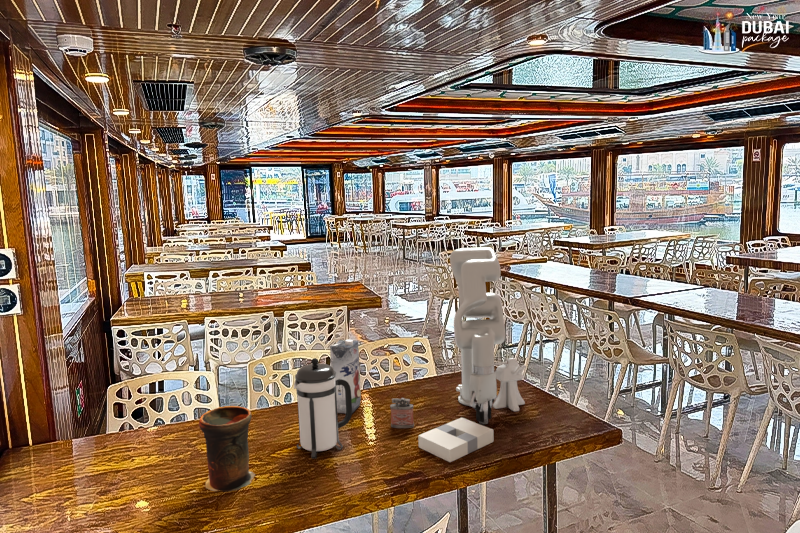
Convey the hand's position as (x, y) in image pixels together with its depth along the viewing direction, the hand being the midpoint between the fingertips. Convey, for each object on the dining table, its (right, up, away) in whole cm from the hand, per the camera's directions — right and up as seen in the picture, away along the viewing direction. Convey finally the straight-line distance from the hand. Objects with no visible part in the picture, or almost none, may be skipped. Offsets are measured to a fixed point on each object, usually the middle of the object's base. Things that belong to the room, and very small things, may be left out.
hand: (483, 419), depth 199 cm
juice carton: (-49, -1, +16) cm, 52 cm away
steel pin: (0, -1, 0) cm, 1 cm away
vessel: (-78, -9, -33) cm, 86 cm away
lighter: (-28, -2, 0) cm, 28 cm away
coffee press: (-54, -5, -14) cm, 56 cm away
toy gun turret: (+11, +1, +15) cm, 18 cm away
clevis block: (-11, -4, -16) cm, 20 cm away
